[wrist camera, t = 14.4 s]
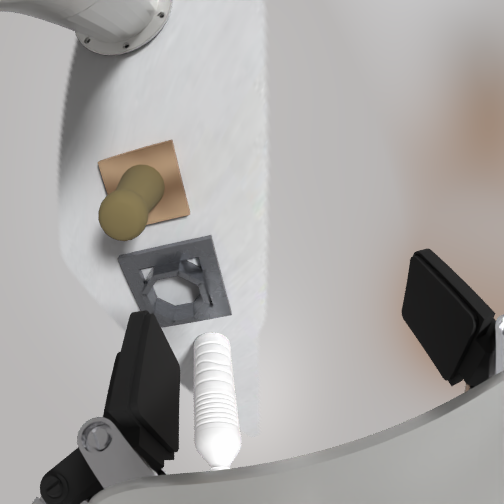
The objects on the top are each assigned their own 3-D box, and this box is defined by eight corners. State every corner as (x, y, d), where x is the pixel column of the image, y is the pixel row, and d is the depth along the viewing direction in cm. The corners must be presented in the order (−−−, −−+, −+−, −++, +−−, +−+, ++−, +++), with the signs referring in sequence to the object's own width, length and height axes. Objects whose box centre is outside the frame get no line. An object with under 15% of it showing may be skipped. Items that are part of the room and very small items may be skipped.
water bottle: (189, 334, 50) (189, 470, 29) (226, 328, 51) (242, 466, 29) (201, 365, 55) (206, 487, 33) (234, 360, 55) (251, 482, 33)
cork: (130, 215, 38) (107, 257, 28) (112, 174, 35) (80, 205, 25) (171, 200, 37) (159, 239, 28) (154, 157, 34) (133, 182, 25)
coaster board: (100, 160, 34) (97, 162, 33) (172, 139, 35) (171, 140, 34) (122, 228, 39) (120, 231, 38) (190, 211, 40) (189, 214, 39)
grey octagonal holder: (119, 255, 41) (113, 268, 38) (211, 235, 42) (211, 247, 39) (150, 325, 48) (148, 339, 45) (231, 310, 49) (232, 325, 46)
